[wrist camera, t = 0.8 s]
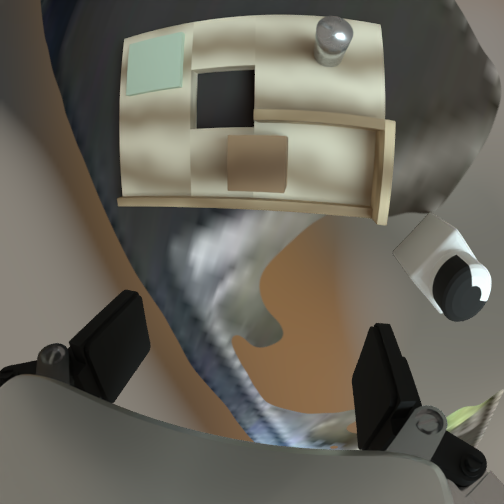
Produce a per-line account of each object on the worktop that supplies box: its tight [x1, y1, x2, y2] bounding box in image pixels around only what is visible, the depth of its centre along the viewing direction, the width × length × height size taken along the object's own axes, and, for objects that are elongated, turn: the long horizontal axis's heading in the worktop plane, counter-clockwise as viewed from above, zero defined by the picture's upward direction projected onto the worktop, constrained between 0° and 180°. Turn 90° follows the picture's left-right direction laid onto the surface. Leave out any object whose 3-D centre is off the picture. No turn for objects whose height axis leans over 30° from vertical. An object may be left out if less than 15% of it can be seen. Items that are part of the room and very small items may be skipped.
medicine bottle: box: [393, 213, 491, 322], centre depth 25 cm, size 7×7×12 cm
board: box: [117, 15, 395, 225], centre depth 25 cm, size 22×30×6 cm
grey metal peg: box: [314, 16, 353, 67], centre depth 19 cm, size 3×3×7 cm
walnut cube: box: [227, 135, 288, 193], centre depth 26 cm, size 5×5×5 cm
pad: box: [126, 32, 185, 96], centre depth 25 cm, size 7×7×1 cm
